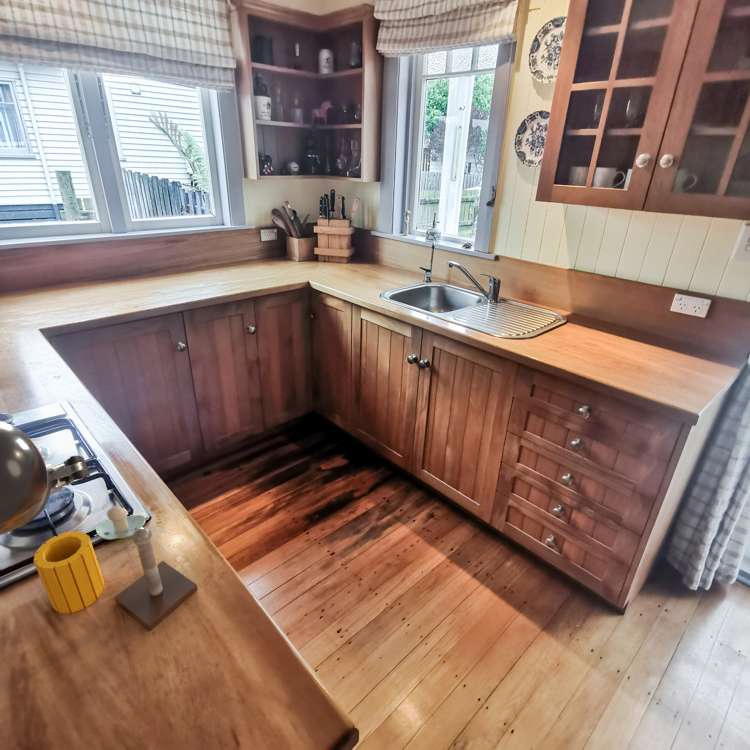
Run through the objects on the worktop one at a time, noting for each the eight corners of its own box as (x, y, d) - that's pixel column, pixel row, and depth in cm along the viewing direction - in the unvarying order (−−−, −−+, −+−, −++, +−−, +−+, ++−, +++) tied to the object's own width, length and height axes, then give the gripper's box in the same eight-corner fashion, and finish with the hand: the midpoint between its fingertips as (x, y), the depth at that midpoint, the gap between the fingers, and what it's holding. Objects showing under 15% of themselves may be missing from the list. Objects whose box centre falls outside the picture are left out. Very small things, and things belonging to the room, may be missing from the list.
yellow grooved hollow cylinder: (43, 598, 67) (24, 554, 63) (88, 567, 72) (73, 524, 68) (67, 621, 64) (49, 576, 60) (113, 587, 69) (99, 543, 65)
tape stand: (115, 603, 67) (94, 535, 61) (164, 565, 73) (148, 501, 67) (149, 631, 63) (130, 563, 58) (198, 589, 70) (184, 523, 64)
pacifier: (106, 521, 81) (96, 546, 76) (98, 493, 79) (87, 517, 74) (151, 515, 83) (144, 539, 78) (144, 487, 80) (137, 510, 75)
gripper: (69, 427, 47) (77, 441, 61) (-122, 489, 39) (-63, 489, 53) (96, 495, 47) (98, 494, 61) (-90, 572, 39) (-39, 550, 53)
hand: (23, 492), depth 57 cm, fingers open, 8 cm apart
